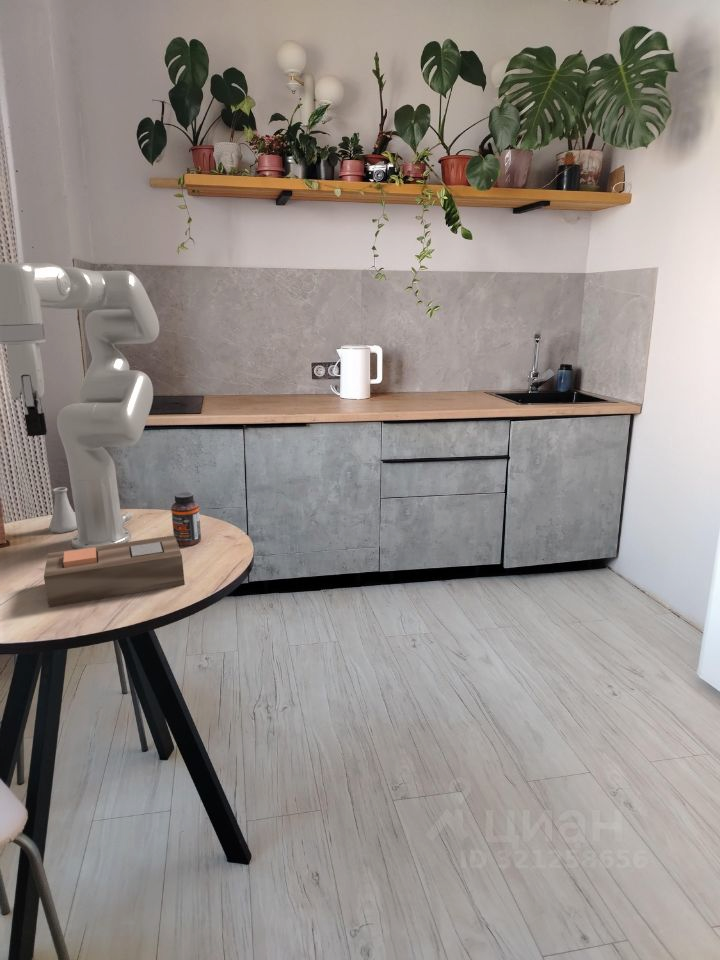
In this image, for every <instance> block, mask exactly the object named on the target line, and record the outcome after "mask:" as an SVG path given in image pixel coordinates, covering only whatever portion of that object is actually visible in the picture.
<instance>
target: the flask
mask: <svg viewBox="0 0 720 960" xmlns="http://www.w3.org/2000/svg"><path fill="white" fill-rule="evenodd" d="M52 492H53V494H54V506H53V510H52V516H51V519H50V523H49V527H48V530H49V531H50V532H51V533H56V534H57V533H58V534H61V533H66V532H73V531H77V523H76V516H75V510H73V509H74V508H72V506H71V504H70V501H69V498H68V495H67V494H68V493H67V492H68V488H67V487H66V486H65V487H64V486H61V487H55V488H52Z"/></svg>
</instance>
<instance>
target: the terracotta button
mask: <svg viewBox="0 0 720 960" xmlns="http://www.w3.org/2000/svg"><path fill="white" fill-rule="evenodd" d="M72 550H73V551H68V550H65V551H66V552H64V559H63V564H64V568H66V567H73V566H79V565H86V564H93V563H98V562H97V554H96V547H94V548H87V549H80V550H75V549H72Z"/></svg>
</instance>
